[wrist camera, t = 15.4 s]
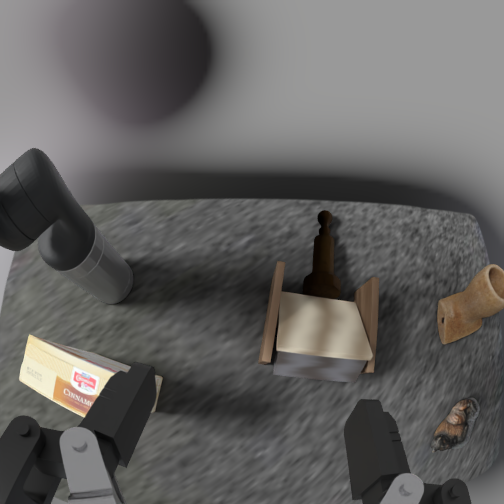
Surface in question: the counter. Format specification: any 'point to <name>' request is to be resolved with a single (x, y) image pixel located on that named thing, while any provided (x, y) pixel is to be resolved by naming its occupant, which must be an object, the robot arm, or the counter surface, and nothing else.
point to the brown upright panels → (363, 298)
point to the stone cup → (471, 305)
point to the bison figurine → (456, 426)
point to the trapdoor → (320, 339)
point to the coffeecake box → (69, 374)
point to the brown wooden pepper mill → (323, 263)
